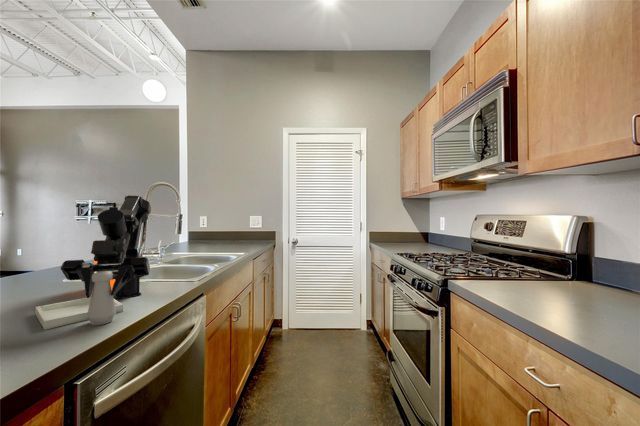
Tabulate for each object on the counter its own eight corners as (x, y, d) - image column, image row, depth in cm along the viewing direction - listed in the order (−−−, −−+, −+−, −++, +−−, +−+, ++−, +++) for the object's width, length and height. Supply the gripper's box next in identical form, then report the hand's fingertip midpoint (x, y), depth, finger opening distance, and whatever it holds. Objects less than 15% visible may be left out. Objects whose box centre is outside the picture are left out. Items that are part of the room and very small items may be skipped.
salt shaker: (92, 328, 67) (93, 275, 67) (83, 323, 70) (83, 272, 70) (120, 320, 72) (120, 271, 72) (110, 316, 75) (110, 268, 75)
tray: (106, 300, 88) (106, 294, 88) (123, 311, 78) (123, 304, 78) (35, 314, 76) (35, 306, 76) (44, 329, 66) (44, 321, 66)
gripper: (64, 229, 71) (38, 281, 61) (148, 228, 78) (137, 275, 67) (78, 255, 78) (57, 306, 68) (153, 252, 85) (144, 298, 75)
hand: (100, 296), depth 69 cm, fingers open, 5 cm apart
